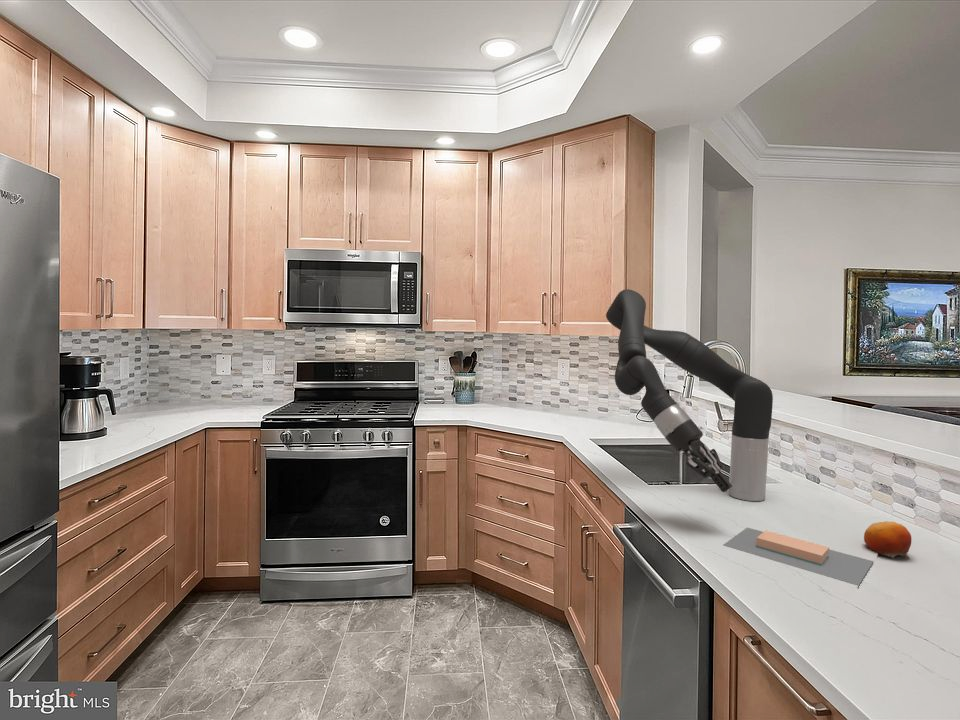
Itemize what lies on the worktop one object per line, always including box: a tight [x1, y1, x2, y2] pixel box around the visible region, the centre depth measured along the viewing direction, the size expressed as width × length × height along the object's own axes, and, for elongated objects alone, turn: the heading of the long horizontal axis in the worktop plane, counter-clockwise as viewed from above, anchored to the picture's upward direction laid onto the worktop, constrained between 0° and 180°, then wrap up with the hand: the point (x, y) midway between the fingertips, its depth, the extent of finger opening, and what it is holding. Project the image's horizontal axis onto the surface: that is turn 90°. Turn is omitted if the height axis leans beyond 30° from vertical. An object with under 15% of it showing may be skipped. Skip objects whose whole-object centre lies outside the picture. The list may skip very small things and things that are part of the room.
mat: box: [722, 527, 874, 589], centre depth 110 cm, size 15×24×1 cm, turn 45°
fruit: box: [863, 521, 912, 560], centre depth 112 cm, size 8×8×8 cm
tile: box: [756, 530, 830, 566], centre depth 111 cm, size 6×2×12 cm
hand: (727, 489), depth 120 cm, fingers closed
